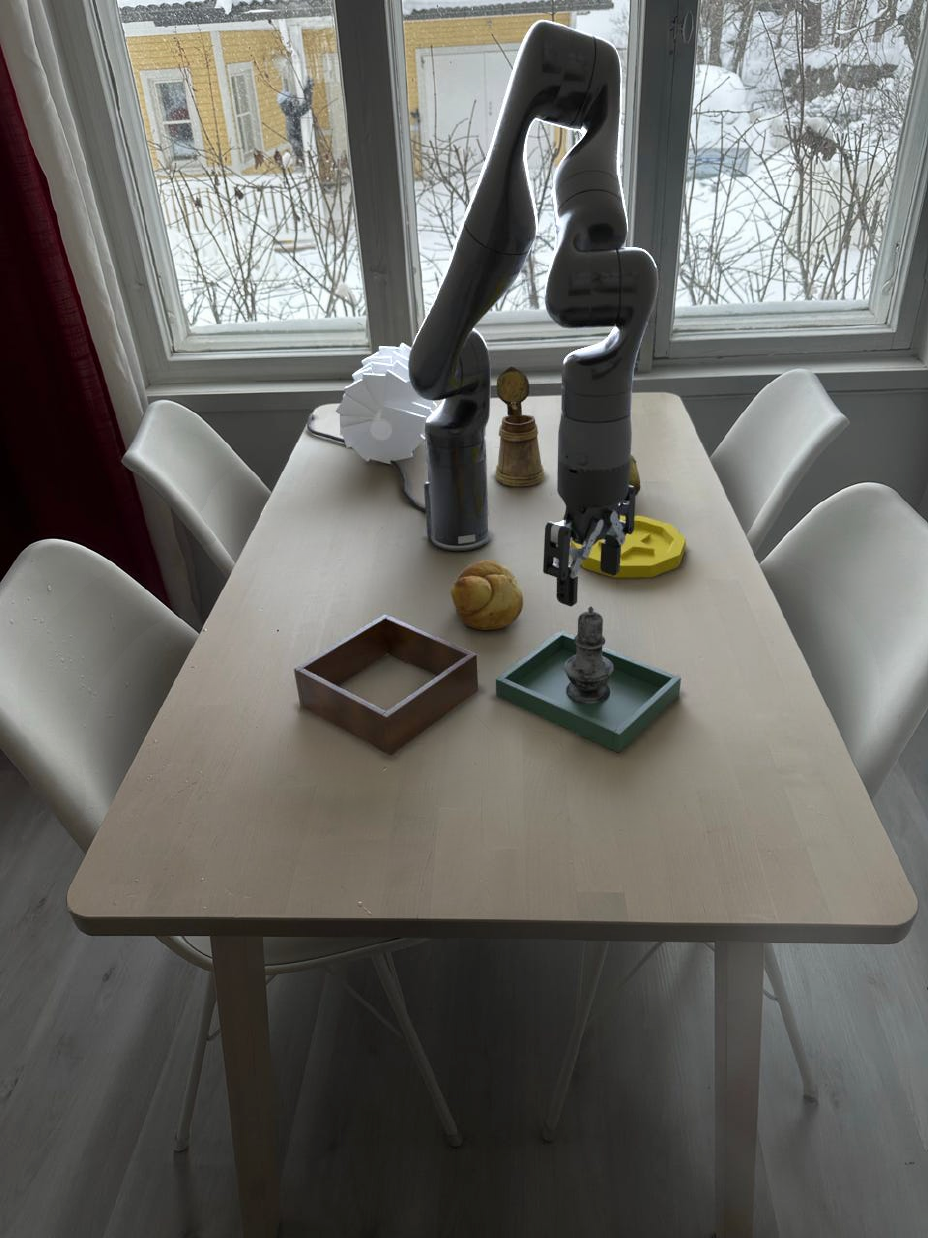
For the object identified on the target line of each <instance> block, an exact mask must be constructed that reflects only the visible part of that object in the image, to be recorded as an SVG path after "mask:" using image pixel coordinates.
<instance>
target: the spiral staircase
mask: <svg viewBox="0 0 928 1238" xmlns="http://www.w3.org/2000/svg"><path fill="white" fill-rule="evenodd" d="M411 348H412V347H410V346H409V345H407V344H405V343H404V342H401V344H400V345H399V347H396V346H382V345H381V346H378V351H377V352H375V353H374V354H372V355H370V356H368V357H366V358H364V359H363V360H361V365H363V367H361V368H360V369H358V370H356V371H355V372H354V373H353V374H352V375H351V377H352V379H353V382H352V383H351V384H348V385H347V386H345V387H343V391H344V394H343V395H342V398H343V399H342V400H341V401H340V403H339V404H338V406H337V408H336V410H335V412H336V413H337V414H339V435H340V436H342V439H344V441H345V443H344V444H345V446H346V448H351V449H352V450H353V451H355V453H357V454H358V455H359V456H360V457H361V458H363V459H364V460H365V461H366V462H369V461H370V460H372V461H375V462H376V461H377V462H380V463H384V464H388V465H393V464H392V463H391V462H390V461H391V460H392V461H395V462H397V461H400V460H405V459H409V458H413V457H414V455H413V451H414V450H415V449H416V448H417V447H419V446H420V445H421V444H422V443H423V442H424V441H425V436H424V435H425V423H426V420H427V419H428V418H429V416H430V415H432V414H433V413H434V412H435V411H434V410H436V409H437V408H438V405H437V403H436V402H435V401H431V400H426V399H424V398H422V397H420V396H419V395H418V394H417V393H416V392H415V391H414V389H413V387H412V385H411V382H410V379H409V373H408V361H409V355H410V351H411Z"/></svg>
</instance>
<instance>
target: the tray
mask: <svg viewBox="0 0 928 1238" xmlns="http://www.w3.org/2000/svg"><path fill="white" fill-rule="evenodd" d="M576 636H577V635H573V634H571V633H568V632H565V631H562V630H559V631H558V632H556V633H555V634H554V635H553V636H551V637H550V638H549V639H547V640H546V641H545V642H544V643H542V644H541V645H539V646H538V647H536V648H535V649H533V651H531V652H530V653H529V654H527V655H526V656H524V657H523V658H522V659H520V660H519V661H518V662H516V663H515V664H514V665H513V666H511V667H510V668H508V669H507V670H506V671H504V672H503V673H501V674H500V675H499V676H497V677H496V678H495V697H497V698H499V699H501V700H503V701H506V702H508V703H510V704H512V705H514V706H517V707H519V708H520V709H523V710H525V711H527V712H530V713H531V714H534V715H536V716H538V717H540V718H543V719H545V720H546V721H549V722H550V723H553V724H555V725H558V726H560V727H562V728H564V729H566V730H569V731H570V732H573V733H575V734H577V735H580V736H581V737H583V738H586V739H588V740H590V741H591V742H594V743H597V744H599V745H601V746H603V747H605V748H607V749H610V750H612V751H614V752H616V753H620V752H622V750H623V749H624V748H626V746H627V745H629V744H630V743H631V742H632V741H633V740H634V739H635V738H636V737H637V736H638V735H639V734H640V733H641V732H643V730H644V729H646V728H647V726H648V725H650V724H651V723H652V722H653V721H654V720H655V719H656V718H657V717H658V716H659V715H660V714H661V713H663V711H664V710H665V709H666V708H668V706H669V705H670V704H671V703H672V702H674V701H675V700H676V699H677V698H678V697H679V696H680V691H681V682H682V677H680V676H678V675H675V674H673V673H671V672H667V671H665V670H662V669H660V668H657V667H655V666H652V665H649V664H647V663H645V662H642V661H639V660H637V659H635V658H633V657H629V656H627V655H625V654H621V653H619V652H616V651H614V650H611V649H609V648H606V647H604V646H603V647H602V656H604V657H606V658H607V659H609V660H610V661H611V662H612V664H613V667H614V670H613V673H612V674H611V676H610V679H609V680H608V682H607V685H608V687H609V688H610V694H609V697H608V698H607V699H606V700H604V701H602V702H600V703H596V704H583V703H579V702H576V701H574V700H572V699H571V698H570V697H569V696H568V695H567V693H566V688H567V686H568V684H569V683H570V680H569V678H568V676H567V673H566V672H565V670H564V665H565V662H566V661H567V660H568V659H569V658H571V657H572V656H574V655H576V653H577V645H576V644H575V642H574V639H575V637H576Z"/></svg>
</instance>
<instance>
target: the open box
mask: <svg viewBox="0 0 928 1238" xmlns="http://www.w3.org/2000/svg"><path fill="white" fill-rule="evenodd" d="M388 654H389V655H391V656H393V657H395V658H398V659H399V660H401V661H404V662H406V663H407V664H408V663H409V664H410V665H413V666H415V667H417V668H420V669H421V670H424V671H426V672H427V673H429V674H431V675H434V676H435V677H434V678H433V679H431V680H430V681H429V682H427V683H426V684H424V685H422V686H421V687H420V688H418V689H417V690H416V691H414V692H413V693H411V694H410V695H409V696H407V697H405V698H404V699H403V700H401V701H399V702H398V703H397V704H396V705H394V706H392V707H391V708H389V709H388V710H387V711H385V710H384V709H382V708H380V707H378V706H377V705H374V704H373V703H370V702H368V701H367V700H364V699H362V698H361V697H359V696H357V695H355V694H353V693H351V692H349V691H347V690H346V689H343V688H342V687H340V685H342V684H344V683H345V682H346V681H348V680H350V679H352V678H353V677H355V676H356V675H358V674H359V673H361V672H363V671H364V670H365V669H367V668H369V667H370V666H372V665H373V664H375V663H377V662H378V661H379V660H382V658H384V657H385V656H387V655H388ZM293 672H294V673H293V674H294V678H295V683H296V690H297V695H298V696H297V697H298V702H299V706H300V707H302V708H303V709H305V710H307V711H309V712H311V713H313V714H315V715H317V716H318V717H320V718H322V719H324V720H325V721H327V722H329V723H331V724H333V725H335V726H336V727H338V728H340V729H341V730H344V731H345V732H347V733H349V734H351V735H353V736H354V737H356V738H358V739H359V740H361V741H363V742H365V743H366V744H369V745H371V746H372V747H374V748H376V749H378V750H379V751H381V752H383V753H385V754H387V755H388V756H390V757H391V756H393V755H394V754H395V753H397V752H398V751H400V750H401V749H402V748H403V747H405V746H406V745H408V744H409V743H410V742H412V741H413V740H414V739H416V738H417V737H418V736H420V735H422V733H424V732H425V731H426V730H428V729H429V728H431V727H432V726H433V725H434V724H436V723H438V722H439V721H440V720H441V719H443V718H444V717H445V716H447V715H448V714H449V713H450V712H452V711H453V710H455V709H456V708H457V707H459V706H461V704H463V703H464V702H465V701H467V700H468V699H469V698H471V697H472V696H473V695H475V694H476V693H477V692H479V673H478V653H476V652H473V651H470V650H468V649H466V648H463V647H461V646H460V645H457V644H455V643H452V642H450V641H447V640H445V639H443V638H441V637H439V636H437V635H434V634H432V633H429V632H427V631H425V630H422V629H421V628H417V627H415V626H414V625H411V624H410V623H409V624H408V623H406V622H404V621H403V620H400V619H398V618H396V617H392V616H390V615H388V614H383V615H380V616H379V617H377V618H376V619H375V620H373V621H371V622H370V623H368V624H366V625H365V626H363V627H361V628H360V629H358V630H356V631H355V632H352V633H351V634H350V635H348V636H346V637H345V638H343V639H341V640H339V641H338V642H337V643H334V644H333V645H332V646H330V647H328V648H326V649H324V650H322V651H321V652H320V653H318V654H316V655H314V656H313V657H311V658H309V659H308V660H306V661H305V662H303V663H301V664H300V665H298V666H296V667H295V668H293Z"/></svg>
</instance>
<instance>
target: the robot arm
mask: <svg viewBox="0 0 928 1238" xmlns="http://www.w3.org/2000/svg"><path fill="white" fill-rule="evenodd" d="M621 65H622V64H621V59H620V55H619V52H618V50H617V48H616V47H615V45H614V44H613V43H611V42H610V41H609V40H607V39H604V38H602V37H600V36H597V35H594V34H591V33H587V32H585V31H582V30H579V29H576V28H572V27H569V26H567V25H565V24H561V23H558V22H554V21H551V20H545V19H540V20H537V21H536V22H534V23H533V24H532V25H531V27H530V28H529V29H528V31H527V32H526V34H525V36H524V38H523V40H522V43H521V45H520V48H519V50H518V53H517V56H516V59H515V62H514V64H513V68H512V71H511V73H510V74H511V75H510V78H509V82H508V84H507V88H506V91H505V95H504V99H503V103H502V107H501V109H500V113H499V117H498V120H497V123H496V126H495V130H494V134H493V137H492V141H491V144H490V148H489V150H488V153H487V156H486V159H485V162H484V164H483V167H482V170H481V173H480V175H479V178H478V181H477V184H476V186H475V189H474V191H473V194H472V197H471V200H470V202H469V204H468V206H467V208H466V211H465V214H464V217H463V219H462V223H461V225H460V228H459V231H458V233H457V236H456V240H455V242H454V246H453V249H452V253H451V255H450V258H449V261H448V264H447V266H446V268H445V272H444V274H443V276H442V278H441V280H440V281H441V282H440V284H439V287H438V290H437V292H436V295H435V296H434V299H433V302H432V304H431V305H430V308H429V311H428V313H427V314H426V317H425V318H424V320H423V323H422V325H421V326H420V328H419V331H418V333H417V334H416V336H415V338H414V341H413V343H412V345H411V347H410V348H411V351H410V355H409V361H408V373H409V379H410V382H411V385H412V387H413V389H414V391H415V392H416V393H417V394H418V395H419V396H420V397H422V398H424V399H426V400H431V401H433V402H435V401H442V402H441V403H440V404H439V406H438V407H437V408H436V409H435V411H433V412H434V413H433V414H432V415H430V416H429V418H428V419H427V420H426V423H425V433H424V438H425V440H424V441H425V455H426V468H427V481H426V482H424V484H423V492H424V493H423V494H424V506H423V505H421V504H419V503H418V502H417V501H416V500H415V499H414V498H413V497H412V496H411V495H410V493H409V492H408V481H407V477H406V475H405V472H404V470H403V469H402V467H401V465H399V463H398V462H397V461H392V460H391V461H390V462H391V463H392V464H391V465H393V467H394V468H395V469H396V470H397V472H398V473H399V475H400V477H401V480H402V492H403V496H404V498H405V499H406V500H407V501H408V503H410V504H411V505H412V506H413V507H415V508H416V509H418V510H420V511H422V512H424V513H425V520H426V521H425V523H426V536H427V539H430V540H431V542H432V544H433V545H434V546H436V547H437V548H439V549H442V550H444V551H449V552H466V551H467V552H468V551H472V550H476V549H478V548H481V547H483V546H485V545H486V544H487V543H488V542H489V540H490V537H491V536H490V529H489V528H490V527H489V495H488V492H489V491H488V464H487V461H488V460H487V440H486V439H487V436H486V433H487V432H486V429H487V425H488V422H489V420H490V415H491V379H492V369H491V368H492V367H491V359H490V358H491V357H490V353H489V350H488V346H487V343H486V341H485V339H484V338H483V336H482V335H481V333H479V331H478V330H477V329H475V328H476V326H477V325H478V324H479V323H480V322H481V321H482V320H483V318H484V317H485V316H486V315H488V313H489V312H490V311H491V310H492V309H493V308H494V307H495V306H496V305H497V304H498V303H499V301H500V300H501V299H502V298H503V297H504V296H505V295H506V294H507V293H508V291H509V290H510V288H511V287H512V286H513V285H514V283H515V282H516V281H517V279H518V278H519V276H520V274H521V272H522V270H523V267H524V265H525V264H526V263H525V262H526V261H527V258H528V256H529V254H530V251H531V250H532V248H533V247H532V246H533V244H534V242H535V240H536V236H537V233H538V215H537V214H538V213H537V207H536V202H535V197H534V194H533V193H534V192H533V189H532V185H531V181H530V176H529V170H528V163H527V162H528V161H527V140H528V135H529V132H530V130H531V126H532V124H533V123H534V121H535V120H537V121H540V122H543V123H547V124H551V125H553V126H557V127H560V128H564V129H567V130H571V131H578V132H580V133H581V135H582V137H581V138H580V139H579V140H578V141H577V143H576V144H574V145H573V147H572V148H571V149H570V150H569V151H568V152H567V153H566V154H565V156H564V157H563V158H562V160H561V161H560V163H559V164H558V167H556V170H555V174H554V175H553V180H552V186H551V202H552V212H553V220H554V229H555V244H554V250H553V254H552V256H551V260H550V263H549V266H548V270H547V273H546V277H545V284H544V292H543V293H544V295H543V299H544V306H545V309H546V312H547V314H548V316H549V318H550V319H551V320H552V321H553V322H554V324H556V325H558V326H559V327H561V328H563V329H570V330H581V329H600V328H602V329H603V328H604V329H605V328H613V329H612V330H611V332H610V334H609V335H608V337H606V338H605V339H604V340H603V341H600V342H599V343H596V344H594V345H590V346H586V347H584V348H583V347H582V348H581V349H577V350H575V351H572V352H570V353H569V354H568V355H566V357H565V358H564V360H563V362H562V368H561V401H560V403H561V404H560V405H561V406H560V407H561V408H560V409H561V411H560V418H559V419H560V420H559V425H558V431H557V432H558V433H557V435H558V436H557V475H556V476H557V478H556V479H557V482H556V485H557V486H556V490H557V495H558V496H559V498H561V500H562V501H563V503H564V505H565V509H564V510H565V511H564V514H563V518H562V520H561V521H558V522H553V521H547V522H546V524H545V527H544V540H543V543H544V545H543V563H542V573H543V574H544V575H547V576H551V577H554V578H556V599H557V601H558V602H559V603H560V604H563V605H565V606H568V607H574V606H575V605H576V604H577V603H578V591H579V589H578V585H579V575H578V573H579V570H580V567H582V565H581V563H582V561H583V560H584V559H587V558H588V556H589V554H590V551H591V549H592V546H593V545H595V543H596V542H597V541H598V540H602V539H603V540H605V541H603V542H602V543H601V561H600V569H601V571H602V572H604V573H607V574H610V575H613V576H614V575H616V574H617V573H619V571H620V557H621V545H623V544H624V542H625V536H626V534H632V533H633V531H634V519H635V516H636V511H635V510H636V497H635V487H633V486H630V485H629V474H630V458H631V455H632V442H633V441H632V440H633V427H632V398H633V384H634V383H633V382H634V381H633V380H634V372H635V367H636V363H637V358H638V354H639V350H640V347H641V344H642V340H643V337H644V335H645V331H646V329H647V326H648V323H649V321H650V319H651V316H652V313H653V310H654V307H655V306H654V305H655V303H656V300H657V296H658V291H659V271H658V268H657V265H656V263H655V261H654V259H653V257H652V256H651V254H649V252H648V251H646V250H645V249H642V248H639V247H624V245H625V243H626V240H627V237H628V233H629V226H628V225H629V224H628V223H629V222H628V216H627V211H626V204H625V199H624V193H623V187H622V182H621V173H620V140H621V139H620V138H621V120H622V66H621ZM314 419H315V414H314V413H310V414H309V415H308V418H307V421H306V427H307V430H308V432H310V433H311V434H313V435H315V436H318V437H322V438H325V439H329V440H332V441H336V442H339V443H342V444H346V443H345V441H344V438H343V437H342V438H341V437H338V436H335V435H331V434H329V433H324V432H321V431H317V430H315V429H313V428H312V420H314ZM620 516H625V522H624V521H620ZM572 540H573V541H574V542H575V543H577V544H580V545H582V547H581V548H579V549H577V548H574V547H571V541H572ZM570 555H571V556H573V558H572V561H571V563H570ZM554 559H555V561H554Z"/></svg>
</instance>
